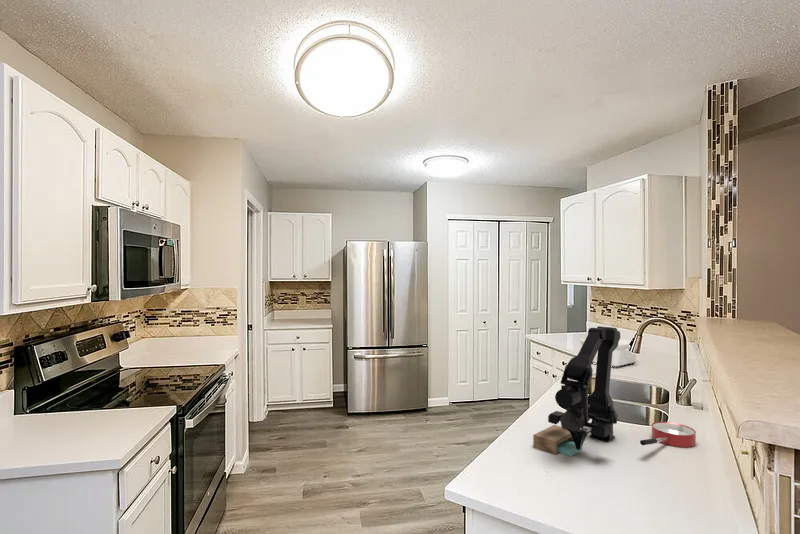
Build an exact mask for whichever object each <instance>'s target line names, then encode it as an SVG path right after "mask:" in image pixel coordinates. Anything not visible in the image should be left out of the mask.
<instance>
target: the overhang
mask: <svg viewBox="0 0 800 534" xmlns="http://www.w3.org/2000/svg"><path fill="white" fill-rule="evenodd" d="M532 437H533V444H532V445H533V448H534V447H535V449H537V448H538V450H540V451H544V452H547V453H548V454H549V453H550V454H552V455H554V456H555V455H558V452H557V444H559V443H561V442H563V441H565V440H568V441H571V442H574V440H573V438H572V436H571V433H570V432H569V431H568V430H566V429H563V428H562V426H561V425H557V424H552V425H550V426H549V427H546V428H544V429H543V430H540V431H538V432H536V433H533V435H532Z"/></svg>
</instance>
